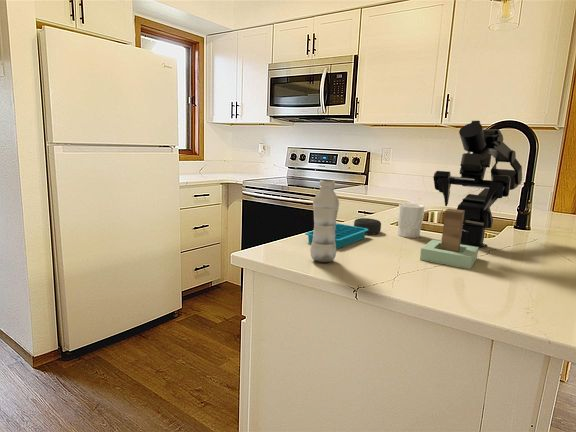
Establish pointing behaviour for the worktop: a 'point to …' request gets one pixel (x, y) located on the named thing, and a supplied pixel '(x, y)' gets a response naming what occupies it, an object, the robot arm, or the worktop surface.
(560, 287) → the worktop surface
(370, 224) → the smart speaker
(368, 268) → the worktop surface
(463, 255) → the green square hole base
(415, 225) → the white cup
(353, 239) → the ice cube tray
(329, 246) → the plastic bottle
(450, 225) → the brown square peg
